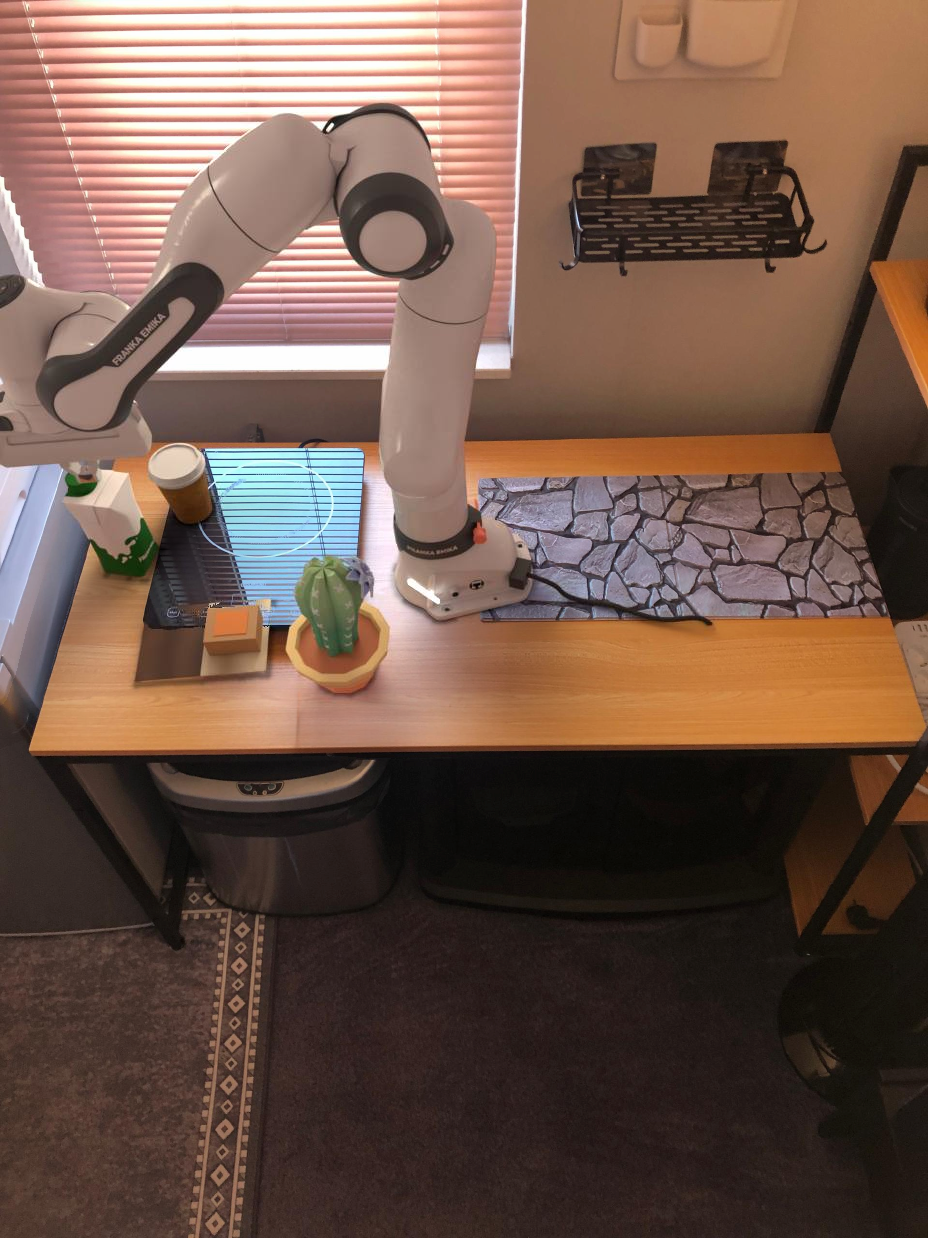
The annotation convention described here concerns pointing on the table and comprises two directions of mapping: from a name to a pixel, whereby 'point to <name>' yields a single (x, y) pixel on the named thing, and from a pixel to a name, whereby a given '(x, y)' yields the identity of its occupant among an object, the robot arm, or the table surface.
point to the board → (193, 651)
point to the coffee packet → (233, 630)
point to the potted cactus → (337, 625)
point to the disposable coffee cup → (182, 481)
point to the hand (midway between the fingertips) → (90, 479)
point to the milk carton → (112, 522)
